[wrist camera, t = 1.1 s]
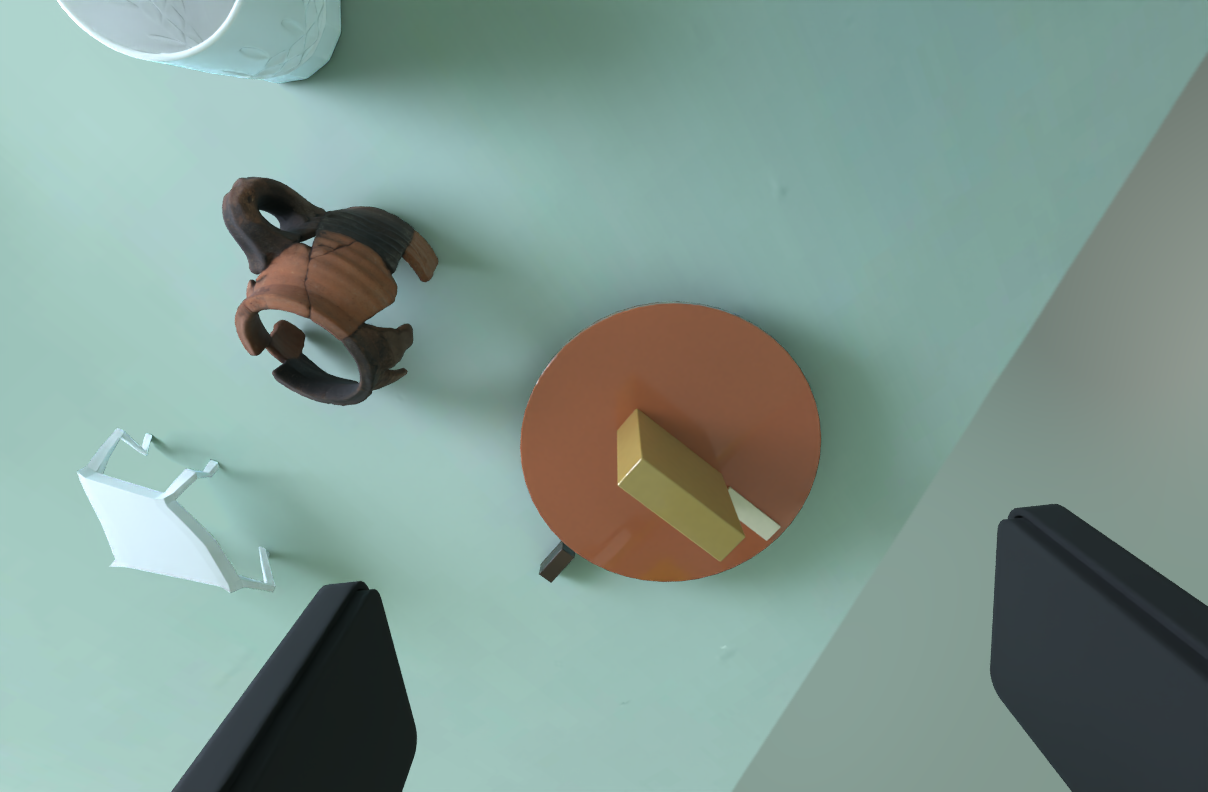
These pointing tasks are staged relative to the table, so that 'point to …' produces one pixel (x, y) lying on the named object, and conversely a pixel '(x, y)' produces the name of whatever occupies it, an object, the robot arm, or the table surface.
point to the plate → (689, 401)
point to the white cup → (218, 33)
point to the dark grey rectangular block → (556, 561)
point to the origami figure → (160, 525)
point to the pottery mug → (322, 284)
